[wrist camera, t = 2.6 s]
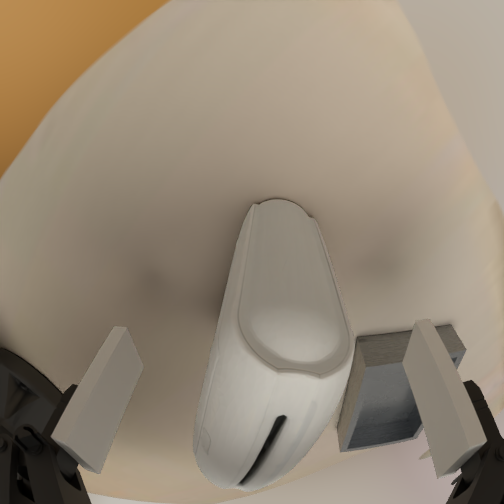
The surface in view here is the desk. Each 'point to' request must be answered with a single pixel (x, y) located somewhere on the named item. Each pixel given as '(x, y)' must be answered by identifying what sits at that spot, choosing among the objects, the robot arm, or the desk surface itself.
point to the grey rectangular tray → (384, 391)
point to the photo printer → (273, 352)
